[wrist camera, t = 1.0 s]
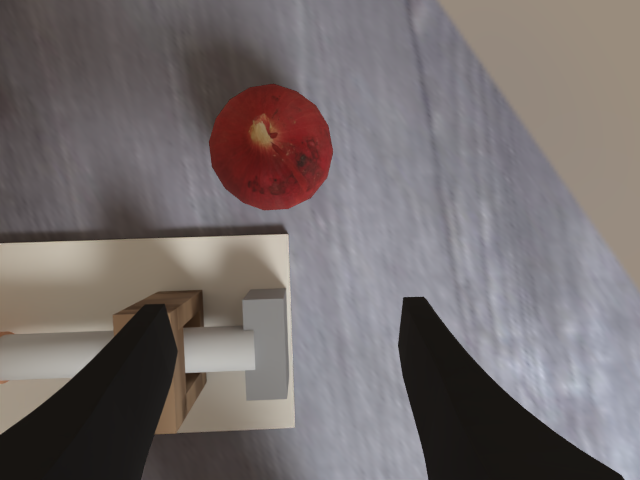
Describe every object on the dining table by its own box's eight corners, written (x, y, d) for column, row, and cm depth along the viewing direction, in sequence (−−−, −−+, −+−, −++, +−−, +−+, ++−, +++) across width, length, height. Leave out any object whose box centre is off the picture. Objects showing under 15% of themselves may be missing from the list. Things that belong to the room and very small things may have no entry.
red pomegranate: (349, 150, 26) (368, 121, 18) (286, 231, 26) (278, 238, 18) (267, 85, 25) (249, 25, 17) (204, 167, 25) (157, 145, 17)
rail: (288, 233, 26) (284, 237, 21) (295, 422, 26) (292, 466, 22) (-147, 247, 25) (-248, 255, 20) (-130, 441, 26) (-224, 490, 21)
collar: (202, 289, 25) (170, 312, 19) (206, 382, 25) (176, 433, 19) (158, 291, 25) (112, 315, 19) (163, 384, 25) (119, 435, 19)
